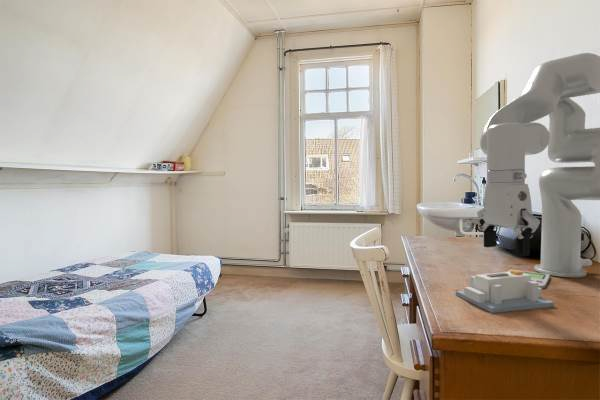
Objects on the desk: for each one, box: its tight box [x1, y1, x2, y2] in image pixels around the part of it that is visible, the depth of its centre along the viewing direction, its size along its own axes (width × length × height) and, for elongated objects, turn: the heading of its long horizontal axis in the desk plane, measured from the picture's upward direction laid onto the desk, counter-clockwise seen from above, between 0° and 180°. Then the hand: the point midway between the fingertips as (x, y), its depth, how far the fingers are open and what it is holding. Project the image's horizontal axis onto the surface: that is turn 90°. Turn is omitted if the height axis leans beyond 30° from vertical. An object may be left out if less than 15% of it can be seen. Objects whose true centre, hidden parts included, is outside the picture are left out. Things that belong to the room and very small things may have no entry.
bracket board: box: [455, 275, 555, 314], centre depth 82 cm, size 16×12×5 cm
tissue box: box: [474, 269, 531, 302], centre depth 82 cm, size 12×4×6 cm, turn 106°
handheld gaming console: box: [507, 268, 551, 289], centre depth 98 cm, size 10×2×15 cm
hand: (505, 251), depth 82 cm, fingers open, 9 cm apart
